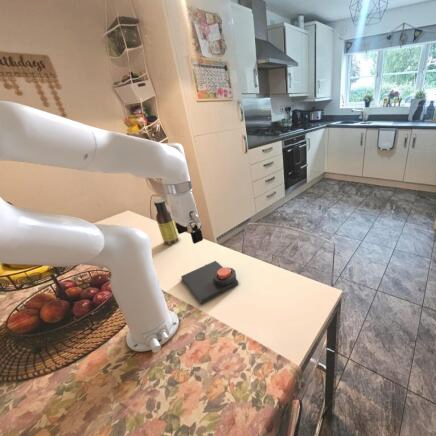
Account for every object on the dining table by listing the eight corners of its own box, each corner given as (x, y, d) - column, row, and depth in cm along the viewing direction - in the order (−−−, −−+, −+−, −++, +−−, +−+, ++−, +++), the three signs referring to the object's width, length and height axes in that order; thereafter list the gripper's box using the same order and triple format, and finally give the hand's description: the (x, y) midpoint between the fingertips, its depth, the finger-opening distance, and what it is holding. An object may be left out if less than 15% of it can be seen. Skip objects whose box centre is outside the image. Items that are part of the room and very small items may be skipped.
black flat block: (241, 282, 83) (240, 274, 81) (201, 304, 74) (199, 296, 73) (219, 263, 94) (217, 255, 92) (182, 280, 85) (179, 272, 84)
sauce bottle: (170, 237, 113) (158, 197, 104) (182, 238, 111) (171, 198, 103) (160, 245, 107) (147, 203, 98) (173, 246, 106) (161, 203, 97)
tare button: (233, 275, 82) (233, 271, 81) (221, 281, 79) (221, 277, 79) (227, 269, 85) (226, 265, 84) (215, 274, 82) (214, 271, 82)
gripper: (152, 184, 75) (167, 233, 82) (179, 196, 64) (193, 251, 72) (176, 178, 80) (188, 225, 87) (205, 189, 69) (215, 240, 77)
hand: (190, 236), depth 79 cm, fingers open, 9 cm apart
